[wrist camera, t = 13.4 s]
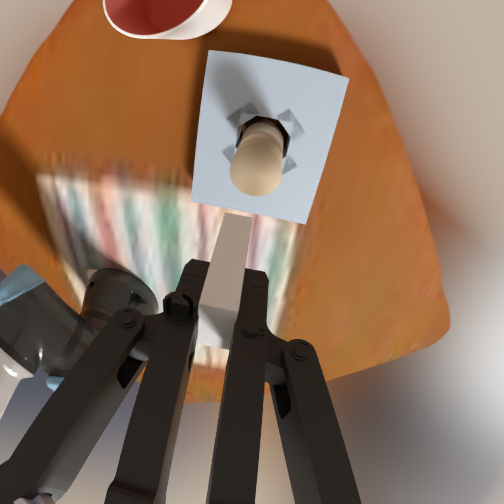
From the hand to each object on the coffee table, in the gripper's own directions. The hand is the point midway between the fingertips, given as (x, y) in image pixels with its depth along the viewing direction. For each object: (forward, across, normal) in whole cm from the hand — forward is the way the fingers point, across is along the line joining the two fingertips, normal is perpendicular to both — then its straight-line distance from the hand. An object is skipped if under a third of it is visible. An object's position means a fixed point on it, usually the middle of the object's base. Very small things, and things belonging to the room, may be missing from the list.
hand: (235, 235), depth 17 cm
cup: (+21, -10, +16) cm, 28 cm away
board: (+20, +1, +1) cm, 20 cm away
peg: (+20, +1, +1) cm, 20 cm away
